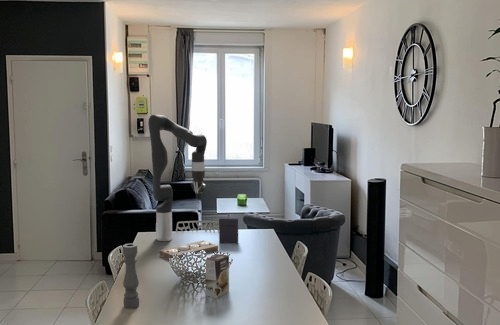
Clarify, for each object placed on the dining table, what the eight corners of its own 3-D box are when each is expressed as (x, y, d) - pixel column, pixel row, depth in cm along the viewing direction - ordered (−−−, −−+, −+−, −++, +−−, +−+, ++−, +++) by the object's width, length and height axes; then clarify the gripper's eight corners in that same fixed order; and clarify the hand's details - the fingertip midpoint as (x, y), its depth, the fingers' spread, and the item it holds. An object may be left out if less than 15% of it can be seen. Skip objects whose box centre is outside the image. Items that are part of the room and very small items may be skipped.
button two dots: (167, 255, 262) (166, 250, 261) (174, 253, 265) (174, 248, 264) (172, 257, 258) (171, 252, 258) (179, 255, 261) (179, 250, 261)
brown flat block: (159, 255, 264) (159, 250, 264) (202, 245, 283) (202, 240, 283) (174, 261, 254) (174, 256, 253) (218, 250, 273) (218, 245, 273)
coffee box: (217, 298, 205) (217, 261, 203) (205, 295, 209) (204, 258, 207) (229, 291, 213) (229, 255, 211) (217, 288, 216) (217, 253, 214)
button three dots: (188, 250, 271) (188, 245, 271) (195, 248, 274) (195, 243, 274) (193, 251, 267) (193, 247, 267) (200, 250, 271) (200, 245, 270)
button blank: (177, 251, 266) (177, 246, 266) (185, 249, 269) (185, 244, 269) (183, 253, 263) (182, 248, 262) (190, 251, 266) (190, 246, 266)
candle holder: (125, 302, 200) (123, 243, 197) (140, 302, 201) (139, 243, 198) (122, 309, 194) (120, 247, 191) (138, 308, 195) (136, 247, 192)
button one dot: (198, 247, 276) (198, 243, 275) (205, 246, 279) (205, 241, 279) (203, 249, 272) (203, 244, 272) (210, 247, 275) (210, 243, 275)
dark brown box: (238, 242, 290) (238, 217, 289) (237, 244, 286) (237, 219, 284) (220, 241, 291) (220, 217, 290) (219, 243, 287) (218, 218, 285)
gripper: (185, 169, 281) (186, 198, 283) (199, 171, 271) (200, 202, 273) (196, 168, 286) (196, 197, 288) (210, 170, 277) (210, 200, 278)
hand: (198, 199), depth 281 cm, fingers closed
